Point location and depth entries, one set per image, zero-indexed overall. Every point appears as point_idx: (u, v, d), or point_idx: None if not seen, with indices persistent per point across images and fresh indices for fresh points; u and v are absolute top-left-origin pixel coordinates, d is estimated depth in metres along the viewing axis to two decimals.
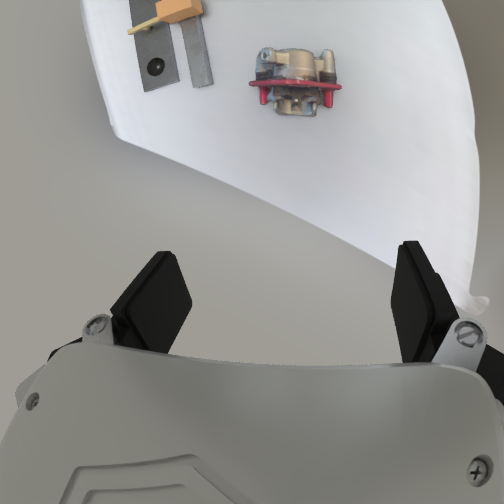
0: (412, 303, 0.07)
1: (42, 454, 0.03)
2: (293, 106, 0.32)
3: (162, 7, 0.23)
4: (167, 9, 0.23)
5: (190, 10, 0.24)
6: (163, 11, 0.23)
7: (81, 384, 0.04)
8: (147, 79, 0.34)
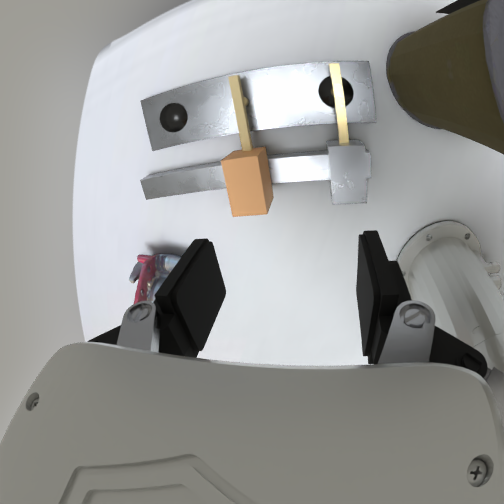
0: (366, 287, 0.08)
1: (42, 454, 0.03)
2: None
3: (242, 169, 0.21)
4: (235, 178, 0.22)
5: None
6: (233, 170, 0.21)
7: (81, 384, 0.04)
8: (156, 104, 0.24)
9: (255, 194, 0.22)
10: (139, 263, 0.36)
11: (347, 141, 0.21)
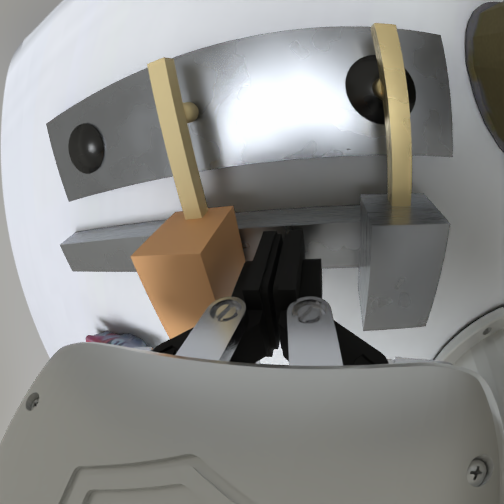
0: None
1: (42, 454, 0.03)
2: None
3: (173, 278, 0.10)
4: (164, 291, 0.10)
5: None
6: (157, 278, 0.10)
7: (81, 384, 0.04)
8: (64, 128, 0.13)
9: None
10: None
11: (407, 203, 0.09)
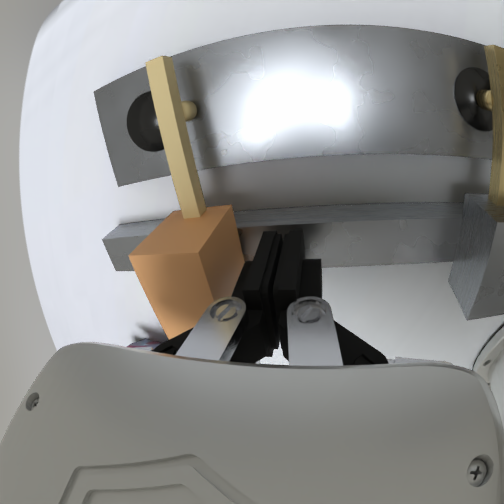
0: None
1: (42, 454, 0.03)
2: None
3: (171, 277, 0.10)
4: (162, 290, 0.10)
5: None
6: (155, 277, 0.10)
7: (81, 384, 0.04)
8: (121, 96, 0.11)
9: None
10: None
11: None
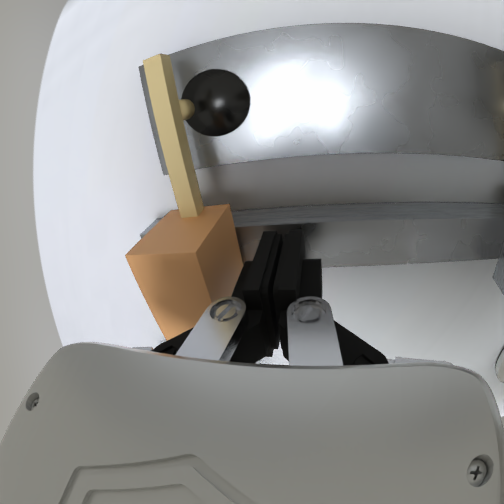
0: None
1: (42, 454, 0.03)
2: None
3: (168, 277, 0.09)
4: (159, 290, 0.10)
5: None
6: (152, 277, 0.10)
7: (81, 384, 0.04)
8: (175, 73, 0.10)
9: None
10: None
11: None
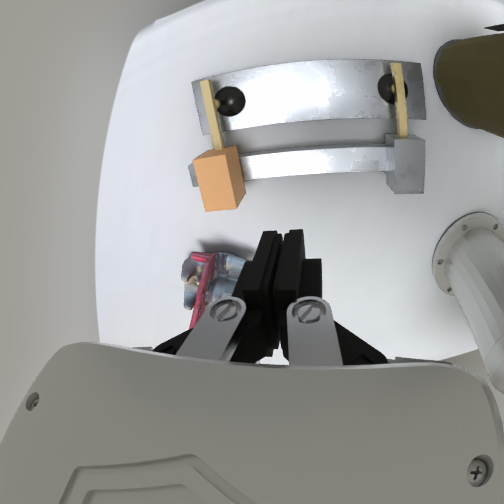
0: None
1: (42, 454, 0.03)
2: (192, 277, 0.35)
3: (212, 167, 0.23)
4: (206, 175, 0.23)
5: None
6: (204, 169, 0.23)
7: (81, 384, 0.04)
8: None
9: (224, 190, 0.24)
10: (188, 260, 0.35)
11: (406, 135, 0.20)
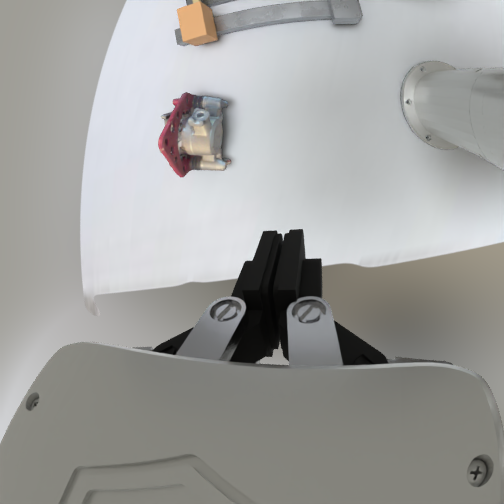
0: None
1: (42, 454, 0.03)
2: (172, 128, 0.34)
3: (190, 10, 0.21)
4: (186, 16, 0.22)
5: None
6: (184, 12, 0.21)
7: (81, 384, 0.04)
8: None
9: (198, 23, 0.22)
10: None
11: None
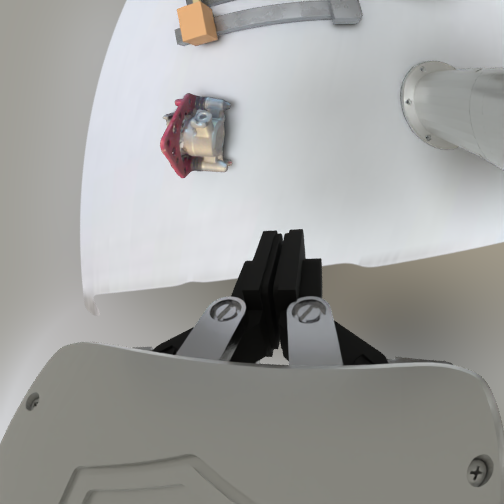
0: None
1: (42, 454, 0.03)
2: (173, 129, 0.34)
3: (190, 10, 0.21)
4: (186, 16, 0.22)
5: None
6: (184, 12, 0.21)
7: (81, 384, 0.04)
8: None
9: (198, 23, 0.22)
10: (172, 113, 0.33)
11: None
